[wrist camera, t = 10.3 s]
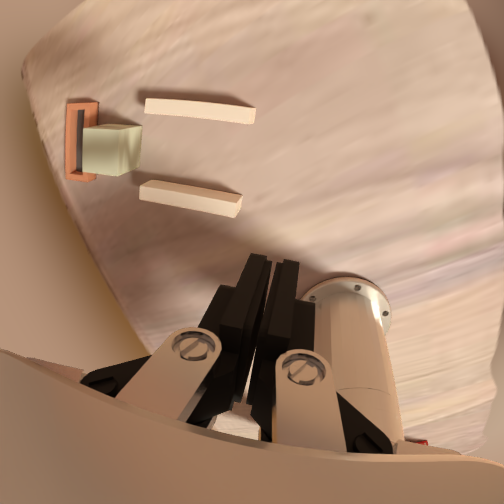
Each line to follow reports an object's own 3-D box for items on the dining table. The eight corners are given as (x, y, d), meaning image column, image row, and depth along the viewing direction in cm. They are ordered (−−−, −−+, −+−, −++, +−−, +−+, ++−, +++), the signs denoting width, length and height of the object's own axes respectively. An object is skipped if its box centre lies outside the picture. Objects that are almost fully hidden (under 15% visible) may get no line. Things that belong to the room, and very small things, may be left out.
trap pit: (95, 178, 36) (87, 182, 35) (74, 175, 36) (65, 179, 35) (98, 102, 32) (90, 102, 30) (75, 102, 32) (67, 103, 30)
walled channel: (240, 208, 35) (234, 217, 32) (151, 192, 36) (139, 199, 33) (256, 108, 30) (250, 107, 27) (158, 98, 31) (145, 98, 28)
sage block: (139, 166, 35) (117, 176, 30) (106, 162, 35) (82, 171, 31) (142, 125, 32) (119, 130, 28) (108, 123, 33) (83, 128, 28)
